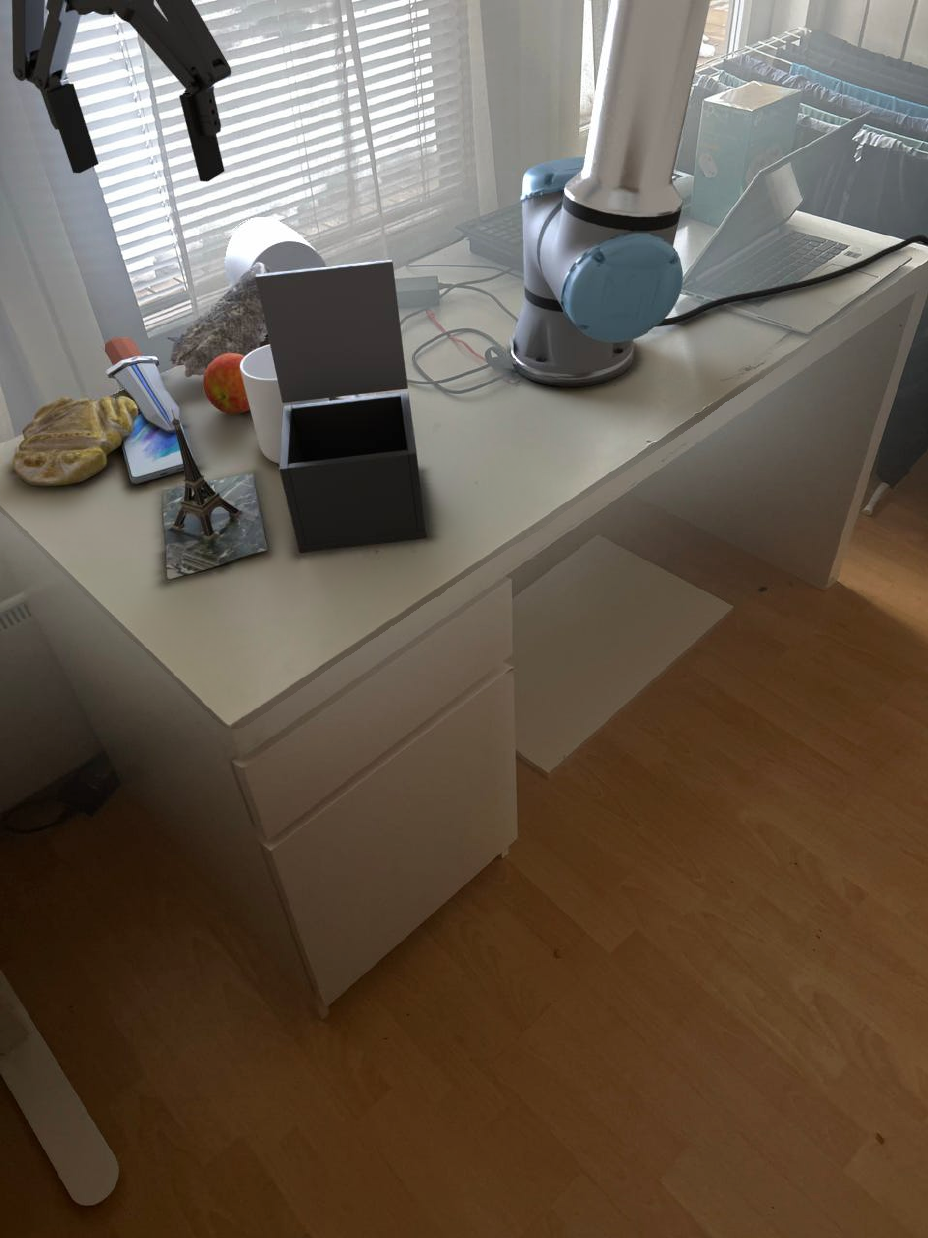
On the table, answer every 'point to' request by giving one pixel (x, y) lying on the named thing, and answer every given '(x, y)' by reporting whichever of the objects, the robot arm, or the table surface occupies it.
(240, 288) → the rock
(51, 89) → the robot arm
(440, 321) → the table surface
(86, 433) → the sculpture
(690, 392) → the table surface
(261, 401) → the mug
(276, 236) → the toilet paper
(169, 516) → the eiffel tower figurine
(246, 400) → the fruit
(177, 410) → the dagger
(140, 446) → the smartphone
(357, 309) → the lid
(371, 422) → the open storage box
